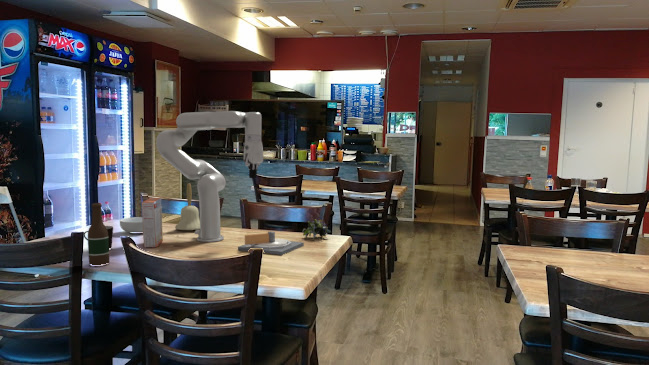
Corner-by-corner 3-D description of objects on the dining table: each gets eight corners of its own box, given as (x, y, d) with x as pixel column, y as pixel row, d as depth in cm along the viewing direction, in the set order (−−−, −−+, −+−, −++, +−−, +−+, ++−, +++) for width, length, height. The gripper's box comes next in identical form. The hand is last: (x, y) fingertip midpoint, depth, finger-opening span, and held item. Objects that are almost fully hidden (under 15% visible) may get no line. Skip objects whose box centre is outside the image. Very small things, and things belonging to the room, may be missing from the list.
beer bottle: (92, 262, 198) (90, 202, 195) (112, 261, 198) (110, 202, 196) (85, 267, 190) (82, 205, 188) (106, 266, 191) (103, 204, 188)
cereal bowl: (147, 236, 249) (147, 222, 248) (114, 236, 249) (114, 222, 249) (159, 229, 266) (158, 216, 265) (128, 229, 266) (127, 216, 265)
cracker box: (150, 241, 236) (148, 197, 234) (163, 241, 237) (162, 197, 235) (142, 248, 222) (140, 201, 220) (156, 247, 223) (154, 201, 221)
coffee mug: (118, 248, 221) (117, 226, 220) (104, 253, 213) (103, 230, 212) (97, 246, 225) (96, 225, 224) (82, 251, 217) (81, 228, 216)
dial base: (238, 250, 218) (237, 244, 218) (262, 241, 236) (262, 236, 236) (281, 255, 209) (281, 249, 209) (303, 245, 227) (303, 240, 227)
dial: (250, 249, 211) (249, 237, 210) (240, 243, 224) (240, 231, 223) (291, 245, 219) (291, 233, 219) (280, 239, 232) (280, 228, 231)
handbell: (168, 231, 261) (167, 183, 259) (189, 226, 275) (188, 181, 272) (191, 233, 254) (189, 185, 252) (211, 228, 268) (209, 182, 265)
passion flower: (321, 247, 247) (335, 229, 245) (312, 248, 237) (327, 228, 235) (304, 233, 251) (318, 214, 249) (295, 233, 241) (310, 213, 239)
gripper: (250, 139, 224) (250, 179, 226) (268, 139, 237) (268, 177, 239) (236, 138, 227) (236, 178, 229) (255, 138, 241) (255, 176, 242)
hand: (252, 178), depth 234 cm, fingers closed
